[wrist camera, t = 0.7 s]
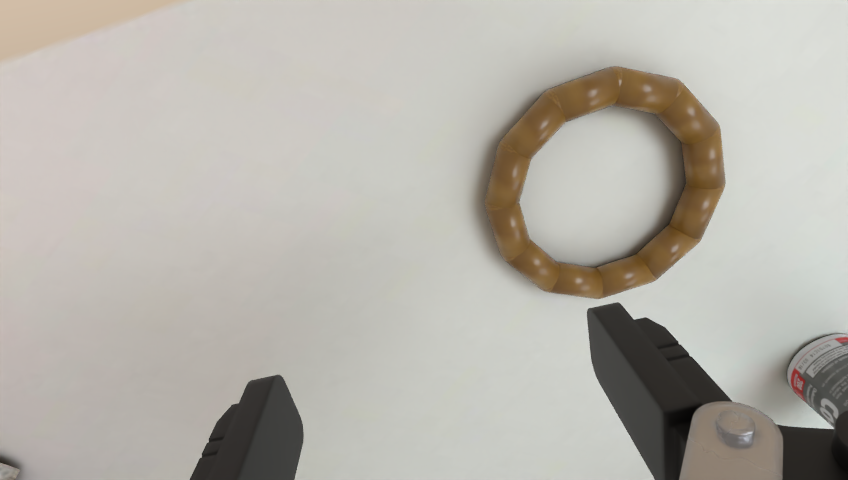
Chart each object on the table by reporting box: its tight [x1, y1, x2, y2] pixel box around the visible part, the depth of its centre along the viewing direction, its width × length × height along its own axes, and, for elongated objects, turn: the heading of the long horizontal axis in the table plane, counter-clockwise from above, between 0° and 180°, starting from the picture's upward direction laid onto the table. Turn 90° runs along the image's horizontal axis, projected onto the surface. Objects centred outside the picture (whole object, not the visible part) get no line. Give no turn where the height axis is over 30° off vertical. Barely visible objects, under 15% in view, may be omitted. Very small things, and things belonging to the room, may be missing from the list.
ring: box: [485, 66, 725, 299], centre depth 23 cm, size 11×11×2 cm
